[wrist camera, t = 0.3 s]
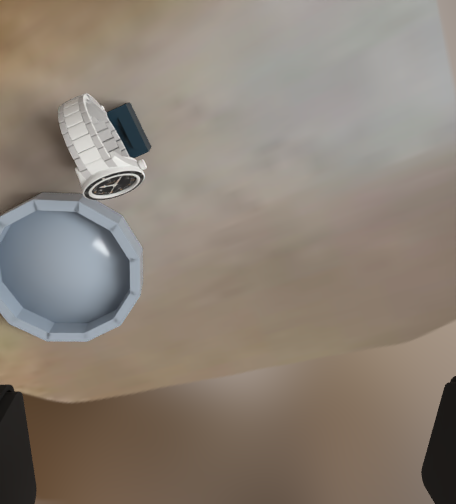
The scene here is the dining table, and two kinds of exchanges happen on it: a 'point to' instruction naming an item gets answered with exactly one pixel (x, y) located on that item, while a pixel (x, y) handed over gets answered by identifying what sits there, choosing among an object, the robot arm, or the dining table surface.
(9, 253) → the dish
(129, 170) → the watch
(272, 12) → the dining table surface
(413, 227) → the dining table surface
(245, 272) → the dining table surface
